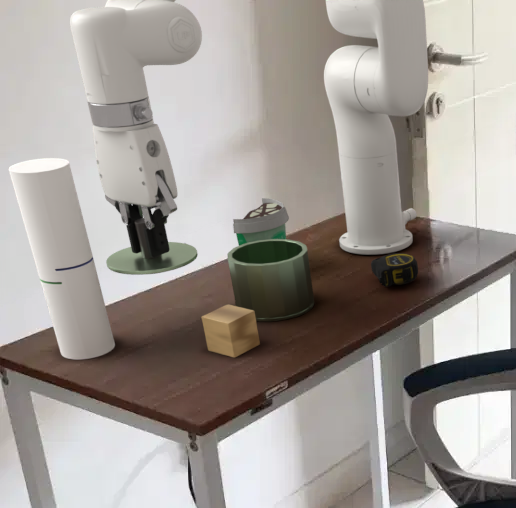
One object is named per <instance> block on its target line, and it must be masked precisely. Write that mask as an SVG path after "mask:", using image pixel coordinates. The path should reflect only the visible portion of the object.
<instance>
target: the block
mask: <svg viewBox="0 0 516 508" xmlns="http://www.w3.org/2000/svg"><path fill="white" fill-rule="evenodd" d="M201 322H202V327H203V332H204V337H205V342H206V347H207V351H209V352H213V353H216V354H220V355H223V356H228V357H230V358H235V359H236V358H237V357H239V356H241V355H242V354H244V353H246V352H249V351H250V350H252V349H254V348H256V347H258V346H259V345H261V343H260V336H259V331H258V325H257V321H256V318H255V312H254V310H249V309H245V308H241V307H237V306H236V305H232V304H228V303H227V304H225V305H223V306H221V307H219V308H217V309H214V310H212V311H210V312H208V313H206V314H204V315H202V316H201Z"/></svg>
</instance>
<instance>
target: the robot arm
mask: <svg viewBox="0 0 516 508" xmlns="http://www.w3.org/2000/svg"><path fill="white" fill-rule="evenodd" d="M175 1H176V0H106V2H105V5H104V6H96V7H95V6H94V7H86V8H82V9H78V10H75V11H74V12H73V13H72V14H71V15H70V16H69V17H70V18H69V28H70V32H71V36H72V41H73V45H74V49H75V54H76V58H77V63H78V67H79V72H80V76H81V80H82V85H83V88H84V93H85V97H86V102H87V106H88V111H89V114H90V120H91V123H92V136H93V137H92V138H93V146H94V152H95V153H94V154H95V160H96V166H97V171H98V176H99V180H100V184H101V188H102V190H103V193H104V198H105V200H106V201H107V202H108V203H109V204H111V205H112V206H113V207H114V208H115V209H116V211H117V212H118V214H120V218H121V221H122V224H124V225H125V226H126V230H127V235H128V239H129V245H130V247H131V249H132V252H133V253H136V254H137V253H140V252H141V249H140V245H139V240H138V235H137V231H136V226H135V220H137V219H141V218H144V220H145V224H146V226H147V228H145V229H144V234H145V239H146V243H147V248H148V252H149V256H150V257H157V256H159V255H162V254H164V253H167V252H169V250H170V249H169V244H168V242H169V239H168V235H167V229H166V225H167V223H168V218H169V216H170V215H171V214H173V213H174V212H176V211H178V206H177V203H176V201H175V199H177V197H178V187H177V181H176V177H175V173H174V170H173V165H172V162H171V158H170V155H169V151H168V147H167V145H166V142H165V140H164V139H165V138H164V136H163V134H162V132H161V129H160V127H159V125H158V124H157V123H155V121H154V116H153V110H152V105H151V102H150V96H149V91H148V85H147V82H146V77H145V71H144V67H147V66H177V65H182V64H184V63H186V62H189V61H190V60H192V58H194V57H195V56H196V55H197V53H198V52H199V50H200V49H201V45H202V41H203V31H202V27H201V24H200V22H199V20H198V18H197V17H196V15H195V14H194V13H193V12H192V11H191V10H190V9H189V8H187V7H186V6H184V5H182V4H180V3H178V2H175ZM325 6H326V7H325V8H326V12H327V17H328V20H329V23H330V25H331V26H332V28H333V29H334V30H336V31H337V32H338V33H341V34H343V35H345V36H348V37H350V36H351V37H357V38H364V39H373V40H374V39H375V40H377V46H371V45H370V46H369V45H360V44H351V45H345V46H342V47H339V48H337V49H335V50H334V51H333V52H332V53H331V54H330V55H329V56H328V58H327V60H326V63H325V65H324V68H323V69H324V70H323V82H324V89H325V93H326V96H327V100H328V104H329V106H330V109H331V110H330V111H331V113H332V118H333V123H334V127H335V132H336V141H337V151H338V159H339V160H338V161H339V167H340V168H339V170H340V178H341V188H342V196H343V205H344V206H343V207H344V214H345V223H346V231H347V232H345V233H343V234H342V235H341V236H340V237H339V239H338V241H339V242H338V243H339V247H340V248H341V249H342V250H343V251H345V252H346V253H349V254H350V253H351V254H354V255H363V256H364V255H365V256H376V255H378V256H379V255H388V254H393V253H396V252H400V251H402V250H405V249H406V248H408V247H410V246H411V245H412V244H413V233H412V232H411V231H410V230H408V229H406V225H407V224H408V223H409V222H411V221H413V220H415V219H416V218H417V215H418V214H417V211H416V210H415V209H414V208H412V207H410V208H408V209H405V210H404V211H403V210H402V203H401V199H402V198H401V188H400V176H399V165H398V164H399V163H398V151H397V150H398V149H397V139H396V134H395V129H394V126H393V123H392V121H391V119H390V116H393V117H410V116H413V115H414V114H416V113H417V112H419V110H421V108H422V107H423V105H424V103H425V101H426V98H427V94H428V89H429V61H428V59H429V57H428V42H427V39H428V37H427V23H426V22H427V20H426V9H425V3H424V0H325ZM152 209H155V210H154V211H153V212H152Z"/></svg>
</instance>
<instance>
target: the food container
mask: <svg viewBox="0 0 516 508" xmlns="http://www.w3.org/2000/svg"><path fill="white" fill-rule="evenodd" d="M261 203H262V204H261V205H260V206H259V207H257V208H255V209H252V210H250V211H248V212H247V214H246V215H245V216H244V217H243V218H233V219H232V220H233V223H232V228H233V234H235V235H236V240H237V245H238V246H240V245H242V244H245V243H249V242H254V241H259V240H268V239H287V230H286V228H287V227H286V223H287V222H288V221H289V220H290V216H289V214H288V210H287V208H286V207H285V205H284V203H283V202H282V201H279V200H277V199H273V198H267V197H262V198H261Z"/></svg>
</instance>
